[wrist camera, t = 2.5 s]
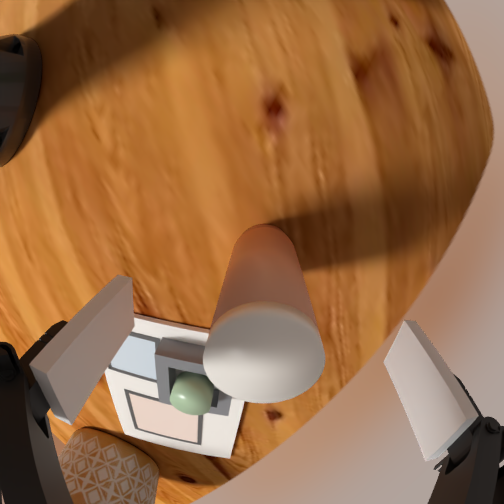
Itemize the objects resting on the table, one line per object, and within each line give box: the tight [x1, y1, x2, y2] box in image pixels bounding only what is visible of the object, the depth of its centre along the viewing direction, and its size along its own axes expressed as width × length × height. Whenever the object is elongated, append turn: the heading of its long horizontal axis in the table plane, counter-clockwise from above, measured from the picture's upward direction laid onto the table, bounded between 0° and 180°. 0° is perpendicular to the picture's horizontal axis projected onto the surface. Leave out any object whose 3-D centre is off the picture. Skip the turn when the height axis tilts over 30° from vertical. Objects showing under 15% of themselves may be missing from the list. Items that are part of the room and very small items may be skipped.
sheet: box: [105, 313, 245, 458], centre depth 27 cm, size 16×24×1 cm, turn 171°
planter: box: [58, 428, 159, 504], centre depth 28 cm, size 19×19×16 cm
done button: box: [170, 371, 214, 415], centre depth 22 cm, size 4×4×2 cm
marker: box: [203, 224, 325, 403], centre depth 15 cm, size 4×4×12 cm
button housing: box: [154, 337, 232, 416], centre depth 23 cm, size 7×7×2 cm
